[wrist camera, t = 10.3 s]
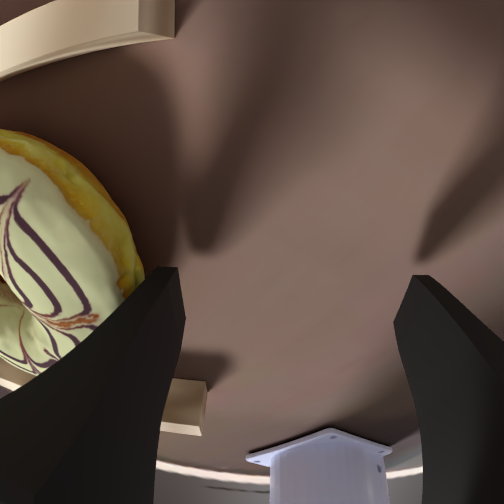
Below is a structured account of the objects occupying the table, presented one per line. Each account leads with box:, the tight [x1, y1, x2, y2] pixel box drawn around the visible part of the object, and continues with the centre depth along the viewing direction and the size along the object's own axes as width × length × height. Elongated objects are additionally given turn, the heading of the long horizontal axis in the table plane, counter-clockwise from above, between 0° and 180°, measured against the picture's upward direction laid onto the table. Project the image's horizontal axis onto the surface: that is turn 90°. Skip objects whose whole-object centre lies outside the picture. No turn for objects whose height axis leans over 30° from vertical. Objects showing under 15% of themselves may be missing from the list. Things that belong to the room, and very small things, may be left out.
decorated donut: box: [0, 129, 145, 376], centre depth 9 cm, size 10×11×4 cm
